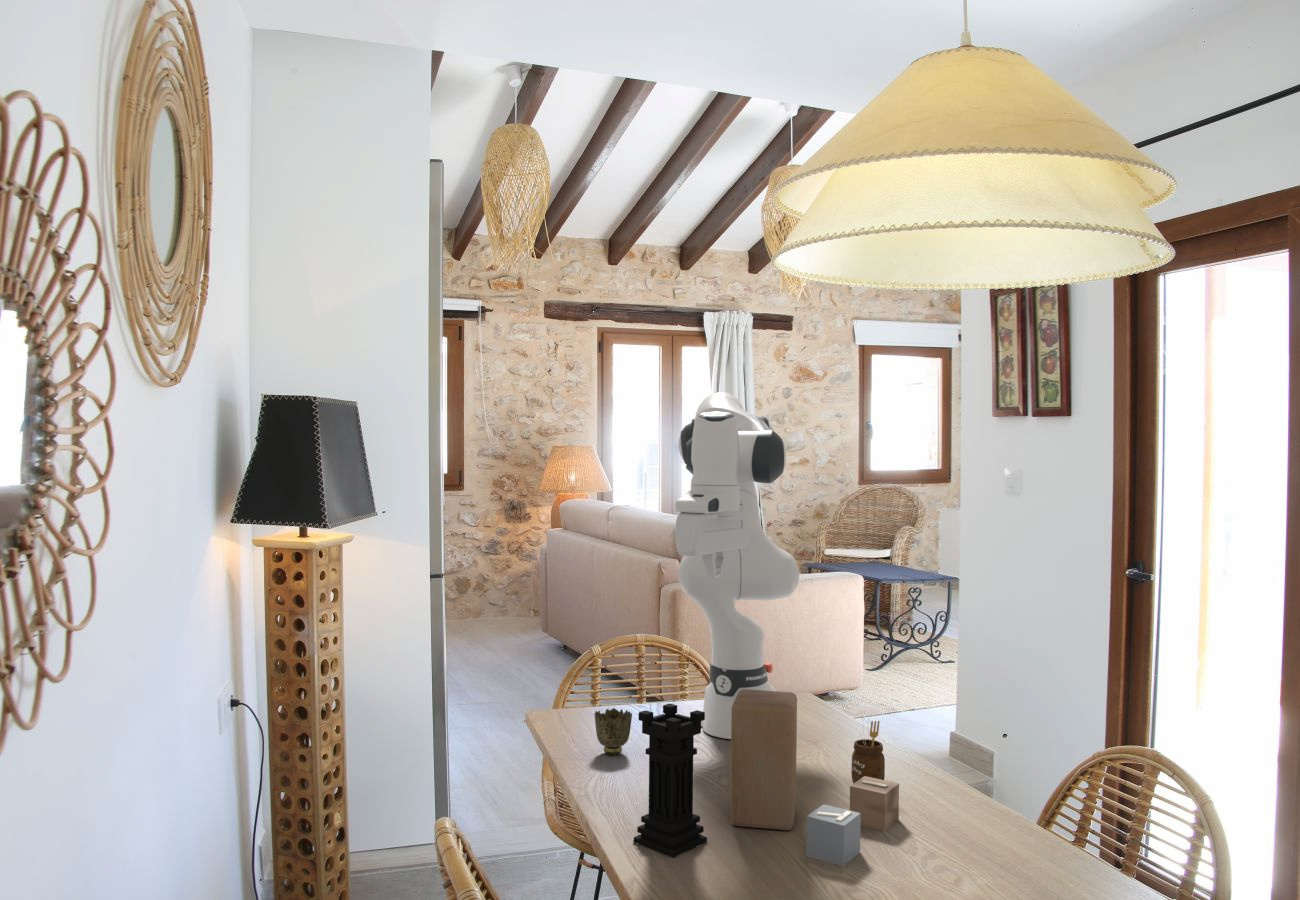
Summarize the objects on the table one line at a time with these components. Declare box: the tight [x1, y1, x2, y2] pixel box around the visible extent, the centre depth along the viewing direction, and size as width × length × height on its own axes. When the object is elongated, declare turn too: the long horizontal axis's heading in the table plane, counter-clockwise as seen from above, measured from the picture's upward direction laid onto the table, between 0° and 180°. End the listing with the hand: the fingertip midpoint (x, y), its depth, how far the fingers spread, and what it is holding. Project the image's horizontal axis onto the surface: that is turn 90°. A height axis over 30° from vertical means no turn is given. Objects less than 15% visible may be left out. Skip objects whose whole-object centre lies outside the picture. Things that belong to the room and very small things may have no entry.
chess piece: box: [633, 703, 708, 859], centre depth 149 cm, size 8×8×20 cm
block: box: [729, 689, 798, 831], centre depth 159 cm, size 10×10×20 cm
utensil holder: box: [850, 717, 886, 783], centre depth 177 cm, size 6×6×12 cm
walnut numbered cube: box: [849, 776, 900, 832], centre depth 159 cm, size 6×6×6 cm
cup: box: [593, 707, 633, 756], centre depth 192 cm, size 8×7×8 cm
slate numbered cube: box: [805, 804, 862, 867], centre depth 145 cm, size 6×6×6 cm
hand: (714, 577), depth 176 cm, fingers closed
